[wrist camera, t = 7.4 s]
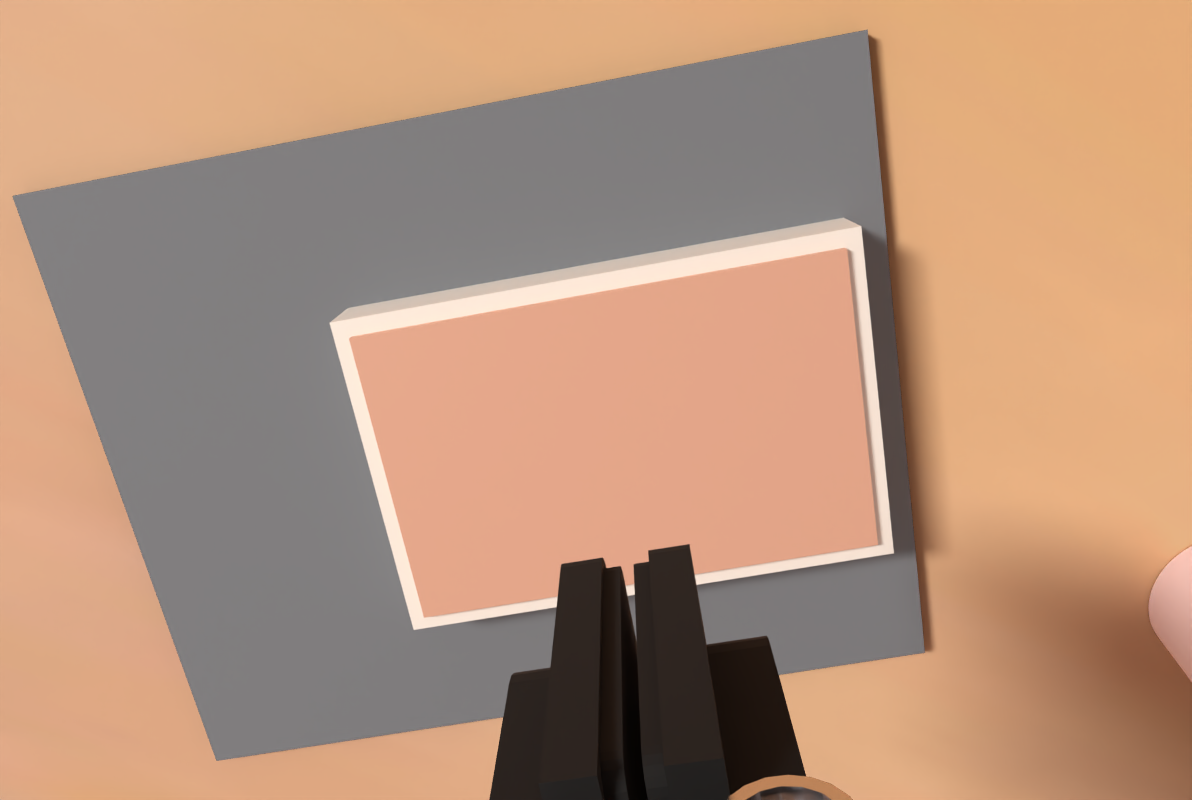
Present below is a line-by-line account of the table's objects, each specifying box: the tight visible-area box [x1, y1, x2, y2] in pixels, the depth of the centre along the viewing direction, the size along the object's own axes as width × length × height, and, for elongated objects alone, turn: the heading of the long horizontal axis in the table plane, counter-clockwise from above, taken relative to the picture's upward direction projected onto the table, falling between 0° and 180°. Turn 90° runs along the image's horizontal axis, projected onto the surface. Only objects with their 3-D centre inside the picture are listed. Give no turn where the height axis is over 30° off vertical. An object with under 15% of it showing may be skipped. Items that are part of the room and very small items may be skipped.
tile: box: [330, 218, 894, 630], centre depth 23 cm, size 2×8×12 cm
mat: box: [13, 30, 925, 761], centre depth 24 cm, size 20×16×1 cm
